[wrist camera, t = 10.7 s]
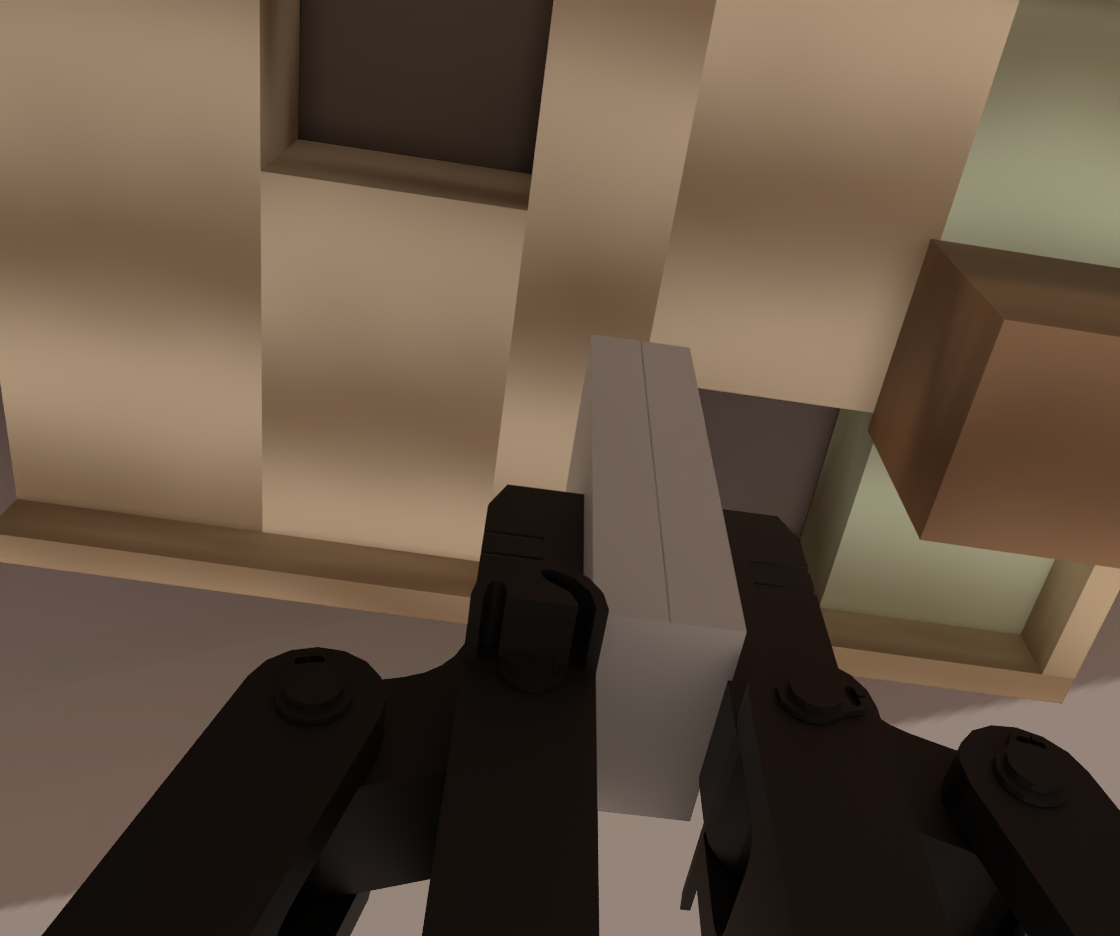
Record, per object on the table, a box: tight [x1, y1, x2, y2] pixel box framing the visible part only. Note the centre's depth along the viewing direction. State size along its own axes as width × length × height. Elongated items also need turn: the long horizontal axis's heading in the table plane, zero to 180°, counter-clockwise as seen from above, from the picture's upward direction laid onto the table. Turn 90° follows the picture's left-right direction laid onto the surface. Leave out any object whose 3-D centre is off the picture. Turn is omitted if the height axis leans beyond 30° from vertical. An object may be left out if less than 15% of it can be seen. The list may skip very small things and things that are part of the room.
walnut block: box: [868, 239, 1120, 569], centre depth 21 cm, size 4×4×4 cm
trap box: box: [0, 0, 1120, 704], centre depth 23 cm, size 16×26×4 cm, turn 82°
